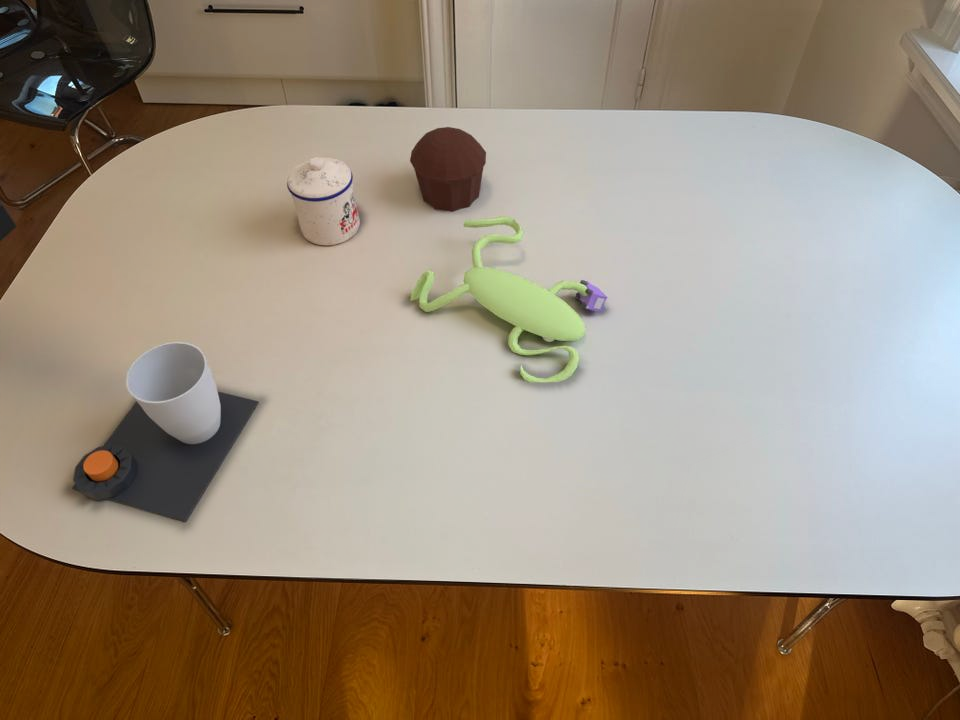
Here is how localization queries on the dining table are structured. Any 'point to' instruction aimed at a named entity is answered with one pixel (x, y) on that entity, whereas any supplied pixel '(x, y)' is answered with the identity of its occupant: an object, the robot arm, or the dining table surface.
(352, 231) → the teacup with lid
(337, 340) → the dining table surface
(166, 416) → the cup
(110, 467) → the button
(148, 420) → the dark grey flat slab
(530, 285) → the figurine
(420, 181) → the muffin
